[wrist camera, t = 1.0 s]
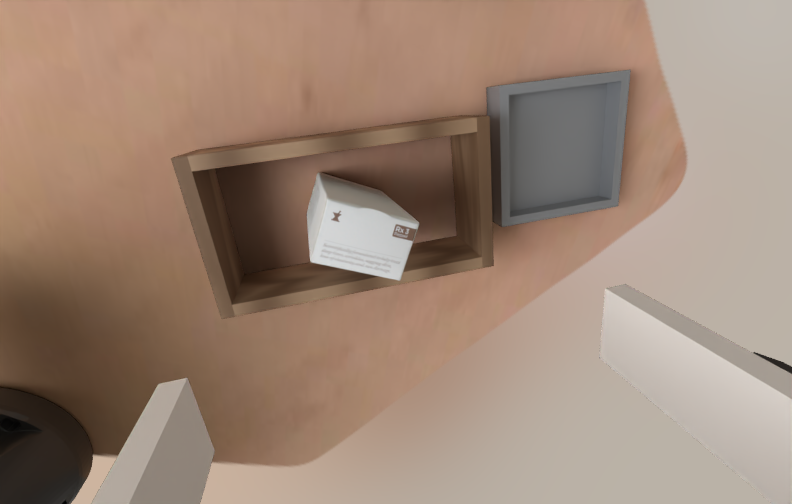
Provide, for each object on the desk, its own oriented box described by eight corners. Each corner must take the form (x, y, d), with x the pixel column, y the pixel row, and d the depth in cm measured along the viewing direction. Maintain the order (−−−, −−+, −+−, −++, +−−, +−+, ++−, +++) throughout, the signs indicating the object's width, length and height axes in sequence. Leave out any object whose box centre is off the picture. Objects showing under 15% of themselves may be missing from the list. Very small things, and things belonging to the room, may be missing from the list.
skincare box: (305, 217, 34) (303, 268, 23) (318, 167, 33) (322, 195, 22) (371, 234, 36) (399, 288, 25) (386, 187, 35) (422, 222, 24)
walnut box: (235, 286, 35) (221, 319, 29) (195, 150, 31) (170, 158, 25) (467, 243, 38) (493, 265, 33) (460, 115, 34) (489, 115, 29)
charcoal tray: (490, 220, 38) (501, 227, 36) (486, 87, 34) (499, 85, 31) (600, 200, 40) (618, 206, 37) (609, 72, 36) (630, 69, 33)
